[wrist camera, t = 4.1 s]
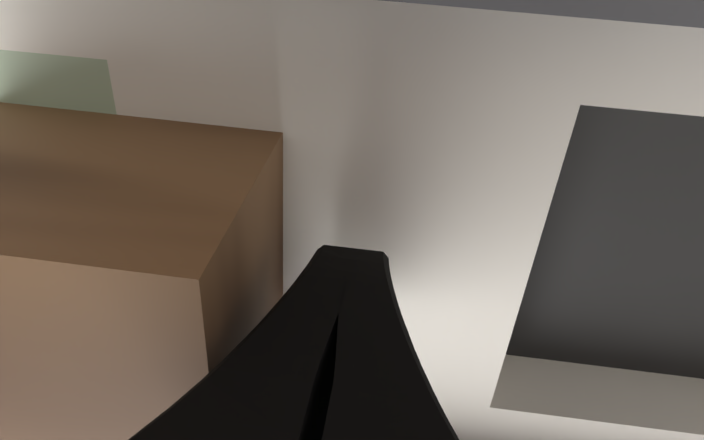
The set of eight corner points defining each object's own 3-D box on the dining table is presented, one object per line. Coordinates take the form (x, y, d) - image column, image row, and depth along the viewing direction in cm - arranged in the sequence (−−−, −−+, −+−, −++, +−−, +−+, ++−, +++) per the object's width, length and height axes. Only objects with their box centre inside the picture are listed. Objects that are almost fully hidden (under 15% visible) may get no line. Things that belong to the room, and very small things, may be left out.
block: (283, 347, 12) (225, 535, 8) (61, 318, 12) (-82, 489, 9) (282, 132, 9) (199, 279, 6) (-3, 101, 9) (-247, 223, 6)
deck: (764, 471, 15) (864, 641, 12) (-52, 363, 16) (-176, 487, 13) (1231, -124, 8) (1890, -135, 4) (-334, -227, 9) (-794, -298, 6)
